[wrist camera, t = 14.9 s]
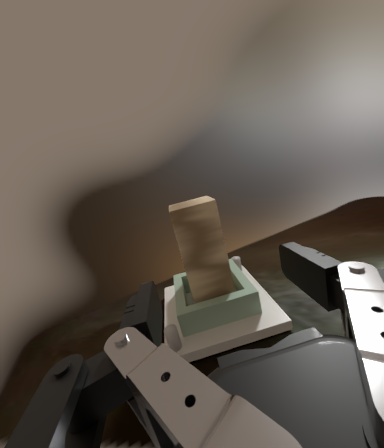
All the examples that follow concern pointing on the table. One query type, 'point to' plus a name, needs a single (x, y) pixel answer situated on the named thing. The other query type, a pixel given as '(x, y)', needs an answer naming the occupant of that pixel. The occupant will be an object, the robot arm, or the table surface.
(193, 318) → the socket plate
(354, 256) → the table surface
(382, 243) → the table surface
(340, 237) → the table surface
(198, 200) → the maple block
